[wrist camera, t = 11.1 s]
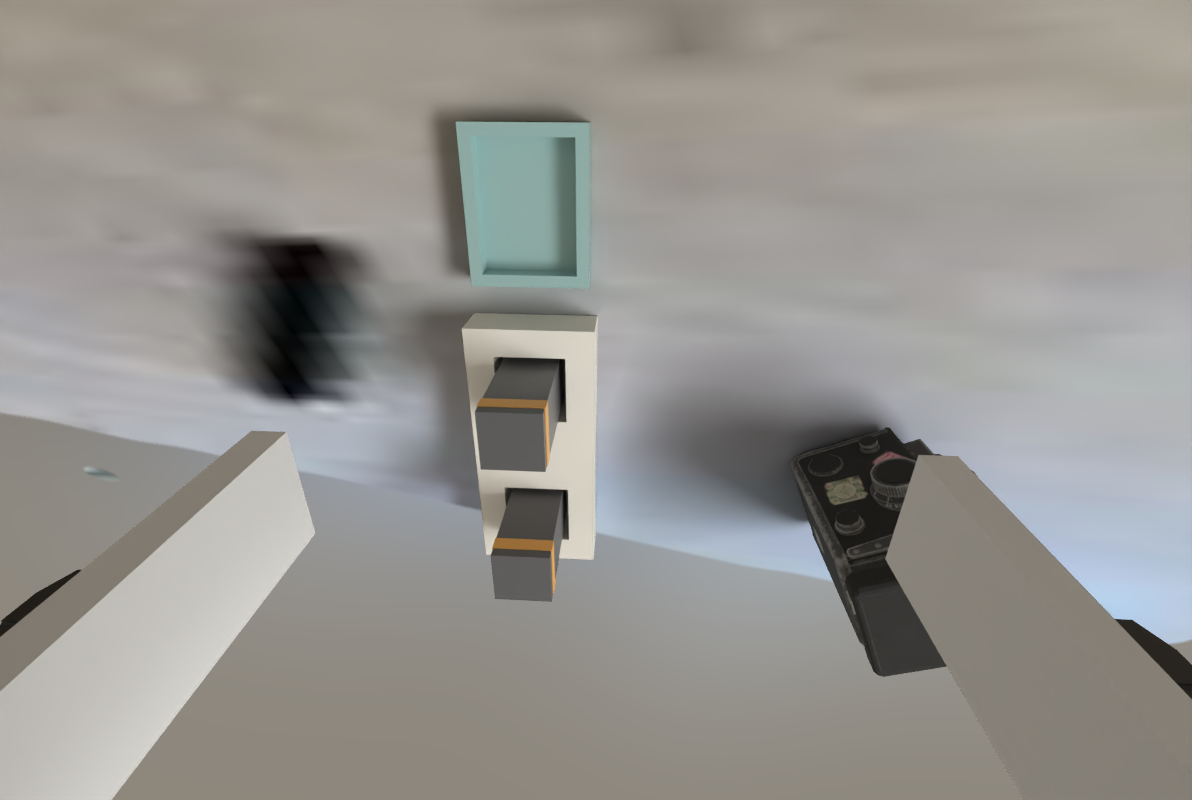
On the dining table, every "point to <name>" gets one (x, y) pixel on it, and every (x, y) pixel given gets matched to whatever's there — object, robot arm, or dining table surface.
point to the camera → (867, 541)
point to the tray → (527, 202)
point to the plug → (520, 414)
